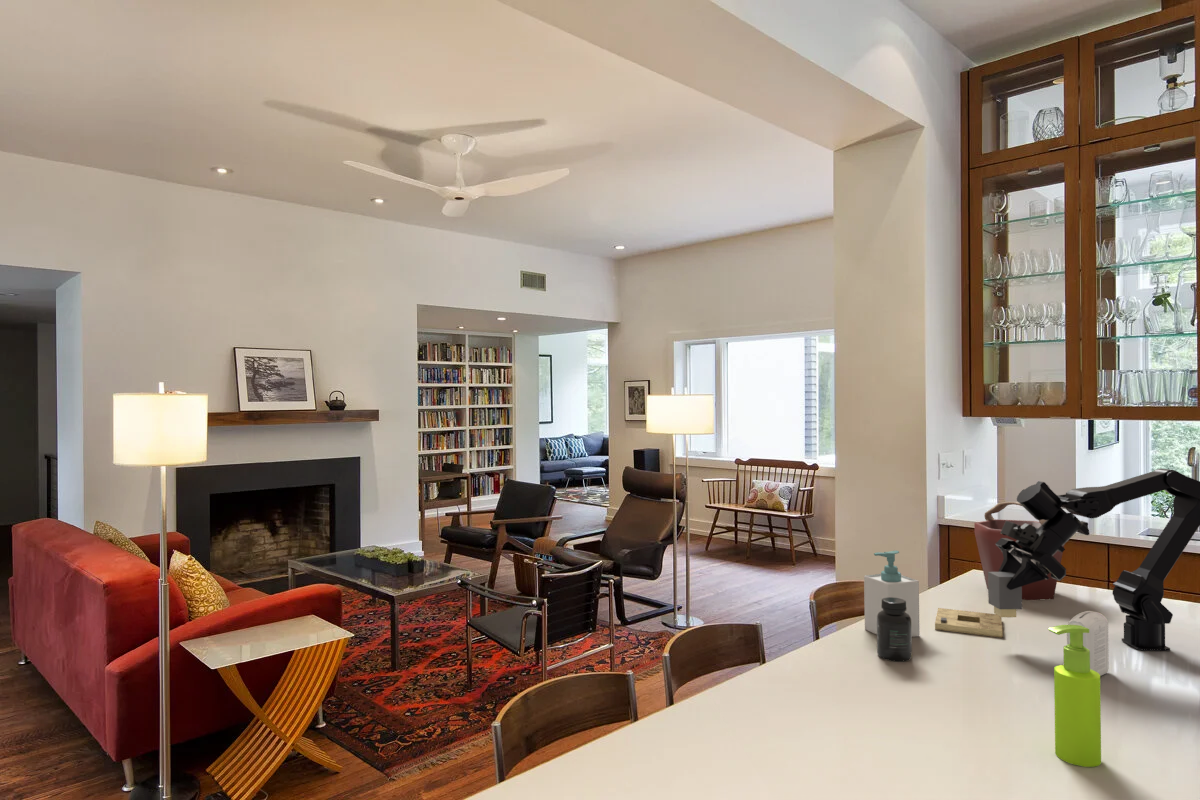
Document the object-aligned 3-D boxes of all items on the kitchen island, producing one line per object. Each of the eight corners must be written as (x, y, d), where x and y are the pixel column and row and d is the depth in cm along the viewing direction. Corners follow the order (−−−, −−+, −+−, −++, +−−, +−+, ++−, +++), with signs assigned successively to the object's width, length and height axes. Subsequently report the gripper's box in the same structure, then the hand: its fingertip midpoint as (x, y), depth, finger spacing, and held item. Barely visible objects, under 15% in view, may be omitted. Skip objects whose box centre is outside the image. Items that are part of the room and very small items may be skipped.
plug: (1010, 611, 163) (1009, 571, 163) (1022, 618, 158) (1021, 576, 158) (988, 612, 163) (988, 571, 163) (999, 618, 158) (999, 577, 158)
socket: (1001, 620, 179) (1001, 612, 179) (1002, 637, 166) (1002, 628, 166) (938, 613, 185) (938, 605, 185) (935, 629, 173) (934, 620, 173)
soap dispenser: (1040, 749, 114) (1038, 621, 114) (1081, 747, 114) (1080, 619, 114) (1067, 768, 108) (1065, 633, 108) (1111, 766, 109) (1109, 631, 109)
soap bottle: (863, 629, 174) (862, 549, 174) (894, 625, 176) (893, 546, 176) (888, 640, 165) (887, 556, 165) (920, 636, 168) (919, 553, 168)
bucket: (965, 580, 219) (964, 496, 219) (1045, 582, 216) (1044, 497, 216) (998, 603, 194) (997, 509, 194) (1088, 605, 191) (1087, 509, 191)
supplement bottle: (875, 649, 160) (875, 595, 160) (909, 652, 158) (908, 596, 158) (878, 660, 153) (878, 603, 153) (914, 663, 151) (913, 605, 151)
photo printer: (1088, 666, 149) (1087, 605, 149) (1112, 672, 145) (1111, 610, 145) (1063, 677, 143) (1063, 614, 143) (1088, 684, 139) (1087, 619, 139)
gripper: (1003, 503, 170) (956, 550, 170) (1050, 515, 151) (996, 569, 152) (1038, 536, 170) (991, 584, 170) (1089, 553, 151) (1036, 607, 151)
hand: (1002, 585), depth 161 cm, fingers closed on plug, 5 cm apart
